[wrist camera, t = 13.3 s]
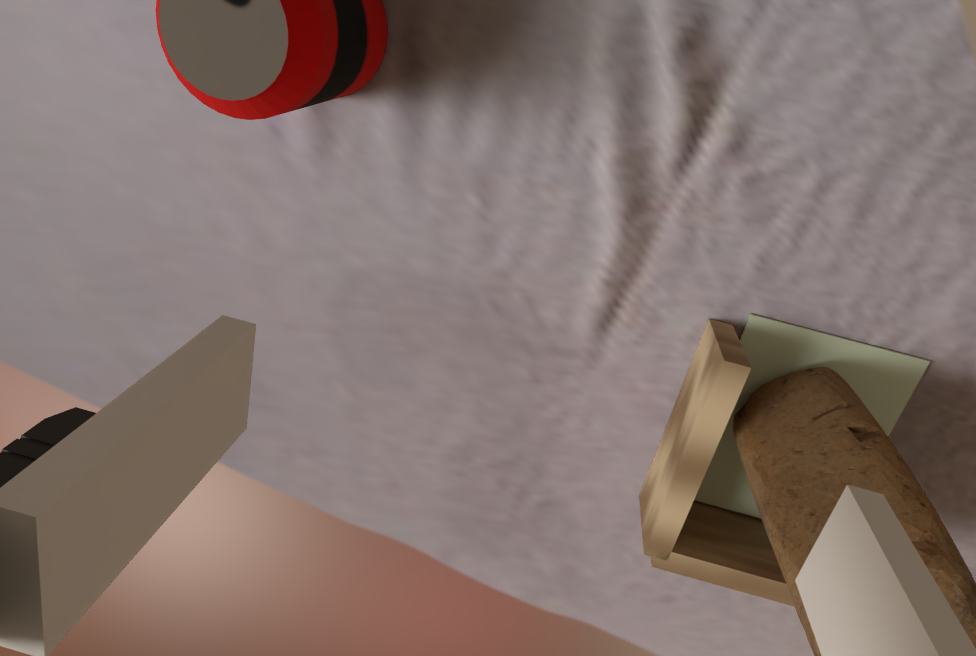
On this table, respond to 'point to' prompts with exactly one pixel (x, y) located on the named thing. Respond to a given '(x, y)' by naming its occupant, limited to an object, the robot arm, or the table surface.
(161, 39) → the soda can
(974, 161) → the table surface
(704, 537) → the wooden l-shaped piece
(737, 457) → the pad
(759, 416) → the brown sandstone rock
